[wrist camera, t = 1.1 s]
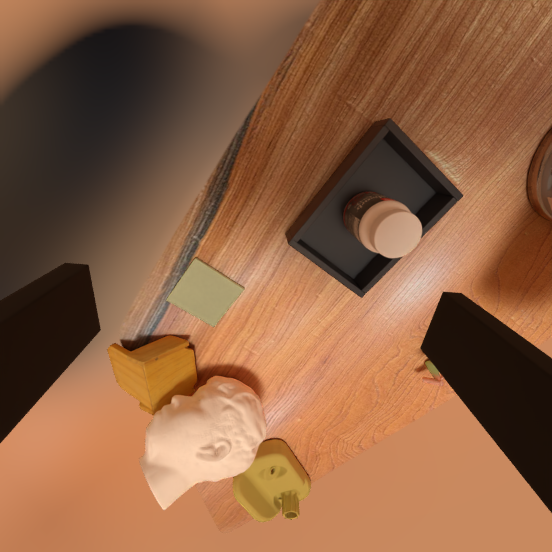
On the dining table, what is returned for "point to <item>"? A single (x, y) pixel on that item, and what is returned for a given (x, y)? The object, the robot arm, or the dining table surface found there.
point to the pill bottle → (382, 224)
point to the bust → (202, 438)
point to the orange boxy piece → (155, 371)
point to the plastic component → (272, 483)
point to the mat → (205, 292)
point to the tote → (380, 179)
